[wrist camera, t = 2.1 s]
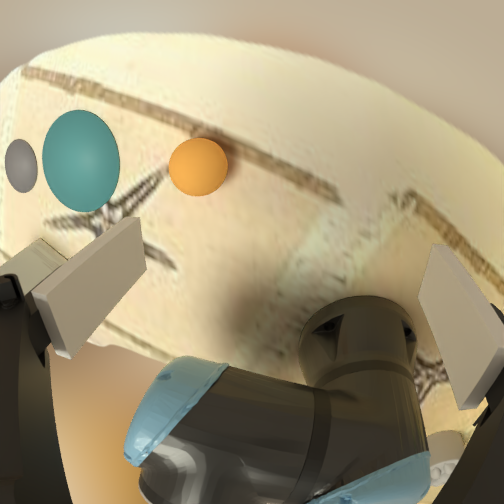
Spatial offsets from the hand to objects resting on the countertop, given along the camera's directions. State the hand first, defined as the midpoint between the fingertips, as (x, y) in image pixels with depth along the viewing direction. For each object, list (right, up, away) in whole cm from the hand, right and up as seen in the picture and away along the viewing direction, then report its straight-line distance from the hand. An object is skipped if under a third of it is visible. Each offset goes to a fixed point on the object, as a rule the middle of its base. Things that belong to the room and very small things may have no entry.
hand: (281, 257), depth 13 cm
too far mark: (-34, +12, +22) cm, 42 cm away
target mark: (-22, +11, +20) cm, 32 cm away
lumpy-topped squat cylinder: (+37, -39, +34) cm, 64 cm away
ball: (-6, +8, +15) cm, 18 cm away
